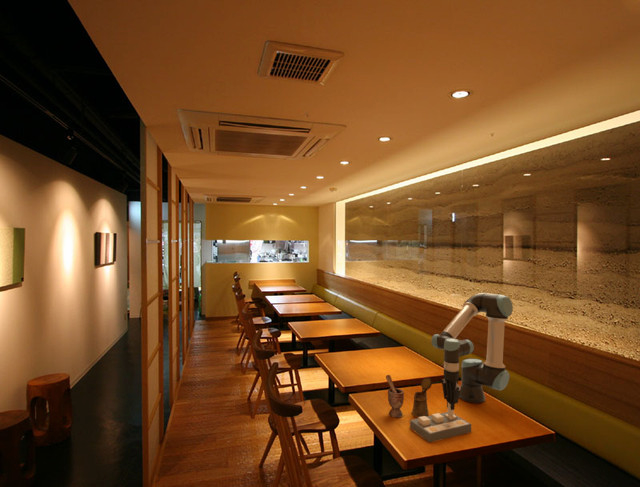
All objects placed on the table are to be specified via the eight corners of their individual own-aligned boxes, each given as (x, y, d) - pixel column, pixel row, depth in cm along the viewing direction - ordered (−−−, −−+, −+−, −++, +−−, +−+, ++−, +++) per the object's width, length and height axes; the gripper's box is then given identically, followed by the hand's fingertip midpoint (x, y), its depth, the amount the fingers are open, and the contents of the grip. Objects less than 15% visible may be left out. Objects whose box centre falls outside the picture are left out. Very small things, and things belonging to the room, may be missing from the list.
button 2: (450, 420, 197) (450, 413, 197) (456, 424, 193) (456, 416, 193) (444, 422, 196) (445, 414, 196) (450, 425, 192) (450, 417, 192)
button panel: (449, 418, 201) (449, 411, 201) (471, 432, 188) (471, 423, 188) (409, 427, 191) (410, 419, 191) (429, 442, 177) (429, 433, 177)
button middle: (438, 420, 194) (438, 413, 194) (443, 424, 190) (443, 416, 190) (431, 422, 192) (432, 414, 192) (437, 425, 189) (437, 417, 188)
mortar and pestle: (379, 413, 207) (380, 377, 207) (387, 408, 214) (387, 373, 213) (399, 419, 200) (399, 382, 200) (406, 414, 206) (406, 377, 206)
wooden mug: (435, 411, 210) (436, 379, 210) (423, 419, 200) (423, 385, 200) (421, 406, 216) (422, 375, 216) (408, 413, 207) (409, 381, 207)
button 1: (424, 423, 190) (424, 415, 190) (430, 427, 187) (430, 419, 187) (418, 425, 189) (418, 417, 189) (423, 428, 185) (423, 420, 185)
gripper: (437, 366, 199) (436, 410, 199) (454, 374, 187) (454, 421, 187) (448, 364, 202) (447, 408, 202) (466, 372, 190) (465, 419, 190)
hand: (450, 414), depth 194 cm, fingers closed
